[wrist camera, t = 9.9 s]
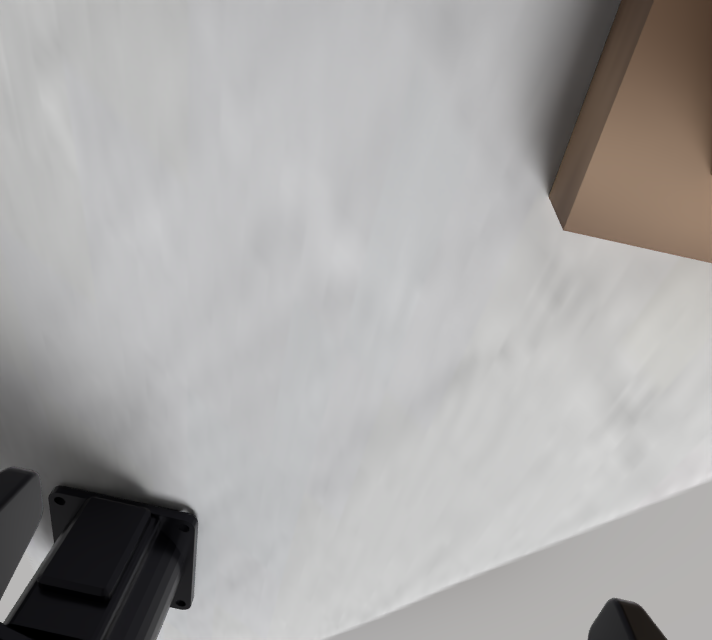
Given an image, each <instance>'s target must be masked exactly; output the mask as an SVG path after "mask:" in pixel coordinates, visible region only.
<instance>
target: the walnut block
mask: <svg viewBox="0 0 712 640" xmlns="http://www.w3.org/2000/svg"><path fill="white" fill-rule="evenodd" d="M711 172H712V0H621V3H620V5H619V8H618V11H617V13H616V16H615V19H614V22H613V24H612V27H611V30H610V32H609V35H608V38H607V40H606V43H605V46H604V49H603V51H602V54H601V57H600V59H599V62H598V65H597V67H596V70H595V73H594V76H593V78H592V81H591V84H590V86H589V89H588V92H587V94H586V97H585V100H584V102H583V105H582V108H581V111H580V113H579V116H578V119H577V121H576V124H575V127H574V129H573V132H572V135H571V138H570V140H569V143H568V146H567V148H566V151H565V154H564V156H563V159H562V162H561V165H560V167H559V170H558V173H557V175H556V178H555V181H554V183H553V186H552V189H551V192H550V194H549V199H550V201H551V203H552V206H553V208H554V210H555V212H556V215H557V217H558V219H559V222H560V224H561V226H562V229H563V230H564V231H569V232H574V233H578V234H583V235H587V236H592V237H596V238H601V239H605V240H610V241H614V242H619V243H623V244H628V245H632V246H637V247H641V248H646V249H650V250H655V251H659V252H664V253H668V254H673V255H677V256H682V257H687V258H691V259H696V260H700V261H705V262H709V263H712V175H711Z"/></svg>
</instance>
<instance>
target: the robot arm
mask: <svg viewBox="0 0 712 640" xmlns="http://www.w3.org/2000/svg"><path fill="white" fill-rule="evenodd" d="M49 506H50V514H51V521H52V529H53V537H54V545H53V547H52V548H51V550H50V551H49V553H48V554H47V556H46V558H45V559H44V561H43V562H42V564H41V565H40V567H39V568H38V570H37V571H36V573H35V575H34V576H33V578H32V579H31V581H30V582H29V584H28V586H27V587H26V588H25V590H24V592H23V593H22V595H21V596H20V598H19V599H18V601H17V602H16V604H15V605H14V607H13V609H12V610H11V612H10V613H9V615H8V616H7V618H6V619H5V621H4V623H1V622H0V640H156V639H157V637H158V634H159V632H160V629H161V627H162V625H163V622H164V620H165V617H166V615H167V612H168V610H169V608H170V607H172V608H176V609H182V610H186V609H189V608H190V606H191V604H192V601H193V598H194V584H195V567H196V551H197V534H198V520H197V519H196V517H194V516H193V515H191V514H189V513H185V512H180V511H176V510H171V509H166V508H162V507H157V506H153V505H148V504H143V503H139V502H134V501H129V500H125V499H120V498H116V497H111V496H106V495H102V494H97V493H93V492H88V491H83V490H79V489H74V488H70V487H65V486H57V487H55V488H54V490H53V491H52V492H51V494H50V495H49ZM42 513H43V501H42V490H41V480H40V476H39V474H38V473H37V472H36V471H33V470H28V469H23V468H19V467H10V468H7V469H5V470H3V471H1V472H0V600H1V598H2V596H3V594H4V592H5V590H6V588H7V586H8V584H9V582H10V580H11V578H12V576H13V574H14V572H15V570H16V568H17V566H18V564H19V562H20V560H21V558H22V556H23V554H24V552H25V550H26V548H27V546H28V544H29V542H30V540H31V538H32V536H33V534H34V532H35V531H36V529H37V527H38V525H39V522H40V520H41V517H42ZM588 640H667V638H666V637H665V636H664V635H663V633H662V632H661V631H660V629H659V628H658V627H657V626H656V624H655V623H654V622H653V621H652V619H651V618H650V617H649V615H648V614H647V613H646V612H645V610H644V609H643V608H642V607H641V606H640V605H639V604H637V603H635V602H632V601H627V600H622V599H618V598H612V599H610V600H608V601H607V603H606V604H605V606H604V607H603V609H602V610H601V612H600V613H599V615H598V617H597V618H596V619H595V621H594V623H593V624H592V626H591V628H590V630H589V634H588Z"/></svg>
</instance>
